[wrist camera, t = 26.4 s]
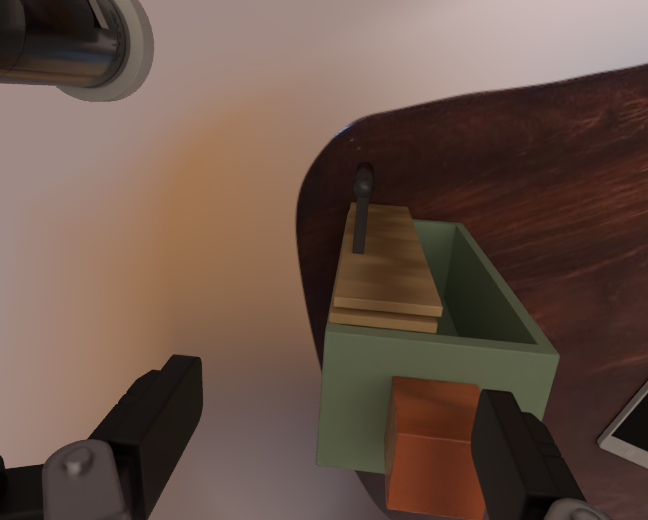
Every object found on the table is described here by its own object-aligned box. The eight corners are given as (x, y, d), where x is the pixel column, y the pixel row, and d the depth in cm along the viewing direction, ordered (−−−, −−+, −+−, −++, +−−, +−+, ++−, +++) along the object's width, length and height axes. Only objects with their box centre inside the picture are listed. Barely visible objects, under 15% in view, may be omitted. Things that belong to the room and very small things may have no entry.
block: (383, 442, 26) (386, 509, 21) (392, 374, 24) (397, 433, 20) (463, 451, 25) (482, 521, 21) (477, 384, 24) (501, 445, 20)
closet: (341, 290, 51) (315, 465, 27) (348, 207, 48) (325, 321, 23) (448, 301, 50) (522, 491, 26) (463, 217, 47) (563, 345, 23)
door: (350, 207, 47) (333, 306, 24) (355, 150, 45) (341, 201, 22) (407, 212, 46) (441, 317, 24) (414, 154, 44) (459, 211, 22)
